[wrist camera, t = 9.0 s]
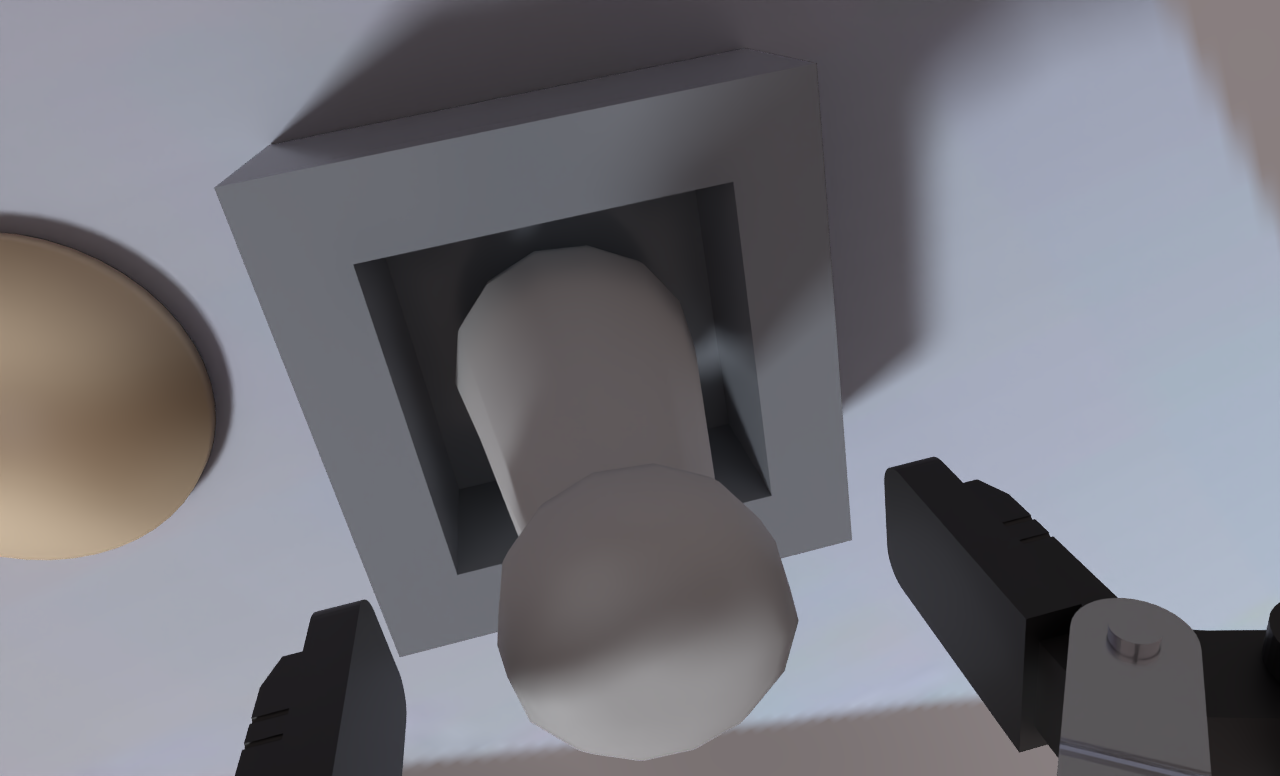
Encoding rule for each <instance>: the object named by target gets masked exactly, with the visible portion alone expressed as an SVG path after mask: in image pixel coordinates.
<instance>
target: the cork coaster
mask: <svg viewBox="0 0 1280 776" xmlns="http://www.w3.org/2000/svg"><path fill="white" fill-rule="evenodd" d="M215 426H216V415H215V401H214V396H213V391H212V386H211V382H210V379H209V376H208V374H207V371H206V368H205V365H204V363H203V361H202V359H201V357H200V355H199V353H198V351H197V349H196V347H195V345H194V344H193V342H192V341H191V339H190V338H189V336H188V335H187V333H186V332H185V331H184V329H183V328H182V326H181V325H180V324H179V322H178V321H177V320H176V319H175V318H174V317H173V316H172V315H171V314H170V312H169V311H168V310H167V309H166V308H165V307H164V306H163V305H162V304H161V303H160V302H159V301H158V300H157V299H155V298H154V297H153V296H152V295H151V294H150V293H149V292H148V291H146V290H145V289H144V288H143V287H141V286H140V285H138V284H137V283H136V282H134V281H133V280H131V279H130V278H129V277H127V276H126V275H124V274H123V273H121V272H120V271H118V270H116V269H114V268H112V267H111V266H109V265H107V264H105V263H104V262H102V261H100V260H98V259H96V258H94V257H91V256H89V255H87V254H84V253H82V252H80V251H77V250H75V249H73V248H70V247H66V246H63V245H60V244H57V243H54V242H51V241H47V240H44V239H39V238H34V237H29V236H24V235H19V234H10V233H0V557H8V558H17V559H26V560H57V559H70V558H78V557H83V556H89V555H94V554H98V553H102V552H105V551H108V550H112V549H115V548H118V547H121V546H123V545H125V544H127V543H130V542H132V541H134V540H137V539H139V538H140V537H142V536H144V535H145V534H147V533H149V532H150V531H152V530H154V529H155V528H157V527H158V526H159V525H160V524H162V523H163V522H164V521H166V520H167V519H168V518H169V517H171V516H172V514H173V513H174V512H175V511H176V510H177V509H178V508H179V507H180V506H181V505H182V504H183V503H184V502H185V500H186V499H187V497H188V496H189V494H190V493H191V491H192V490H193V488H194V487H195V485H196V483H197V482H198V480H199V478H200V476H201V474H202V472H203V470H204V468H205V466H206V463H207V461H208V459H209V456H210V452H211V449H212V445H213V442H214V434H215Z"/></svg>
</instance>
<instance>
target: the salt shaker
mask: <svg viewBox="0 0 1280 776" xmlns="http://www.w3.org/2000/svg"><path fill="white" fill-rule="evenodd" d="M455 384H456V386H457V388H458V390H459V393H460V395H461V397H462V399H463V402H464V404H465V406H466V408H467V411H468V413H469V415H470V417H471V420H472V422H473V424H474V426H475V429H476V431H477V433H478V435H479V437H480V440H481V442H482V445H483V447H484V450H485V453H486V455H487V458H488V460H489V463H490V465H491V468H492V470H493V473H494V475H495V478H496V481H497V483H498V486H499V488H500V491H501V493H502V496H503V498H504V501H505V504H506V506H507V509H508V511H509V514H510V516H511V519H512V521H513V524H514V526H515V529H516V532H517V534H518V538H517V539H516V541H515V542H514V544H513V545H512V547H511V548H510V549H509V551H508V553H507V555H506V557H505V558H504V560H503V562H502V574H501V586H500V599H499V612H498V644H497V645H498V648H499V652H500V655H501V658H502V661H503V664H504V668H505V671H506V674H507V677H508V679H509V681H510V683H511V685H512V687H513V689H514V691H515V693H516V695H517V697H518V698H519V700H520V702H521V704H522V706H523V708H524V710H525V712H526V714H527V716H528V718H529V720H530V722H531V723H533V724H535V725H537V726H538V727H540V728H542V729H543V730H545V731H547V732H548V733H550V734H552V735H553V736H555V737H557V738H558V739H560V740H562V741H563V742H565V743H567V744H568V745H570V746H572V747H573V748H575V749H577V750H580V751H583V752H587V753H591V754H597V755H603V756H610V757H617V758H624V759H631V760H638V761H644V760H649V759H653V758H658V757H663V756H667V755H672V754H676V753H681V752H686V751H690V750H694V749H696V748H698V747H700V746H701V745H703V744H705V743H706V742H708V741H710V740H712V739H714V738H716V737H717V736H719V735H721V734H723V733H724V732H726V731H728V730H730V729H731V728H733V727H735V726H737V725H738V724H740V723H741V722H742V721H743V720H744V719H745V718H746V717H747V716H748V715H749V714H750V712H751V711H752V710H753V709H754V708H755V706H756V705H757V704H758V703H759V701H760V700H761V699H762V698H763V697H764V695H765V694H766V693H767V692H768V690H769V689H770V688H771V687H772V686H773V684H774V683H775V682H776V681H777V679H778V678H779V677H780V676H781V675H782V673H783V672H784V671H785V667H786V663H787V660H788V656H789V653H790V649H791V646H792V642H793V638H794V635H795V631H796V628H797V624H798V617H797V613H796V609H795V605H794V601H793V598H792V594H791V590H790V587H789V584H788V580H787V577H786V574H785V571H784V567H783V564H782V561H781V558H780V555H779V551H778V548H777V545H776V542H775V540H774V539H773V537H772V536H771V534H770V533H769V531H768V530H767V529H766V527H765V526H764V524H763V523H762V522H761V520H760V519H759V518H758V517H757V516H756V515H755V514H754V513H753V512H752V511H751V510H750V509H749V508H747V507H746V506H745V505H744V504H743V503H742V502H741V501H740V500H739V499H738V498H737V497H735V496H734V495H733V494H732V493H731V492H730V491H729V490H728V489H727V488H726V487H724V486H723V485H722V484H721V483H720V482H719V481H717V480H715V476H714V469H713V463H712V456H711V450H710V443H709V436H708V430H707V423H706V417H705V410H704V403H703V397H702V390H701V384H700V377H699V370H698V364H697V357H696V351H695V346H694V343H693V340H692V337H691V334H690V331H689V328H688V325H687V322H686V319H685V316H684V313H683V310H682V307H681V304H680V301H679V300H678V299H677V298H676V297H675V296H674V295H673V294H672V293H671V292H670V291H669V290H668V289H667V288H666V287H665V286H664V285H663V283H662V282H661V281H660V280H659V279H658V278H657V277H656V276H655V275H654V274H653V273H652V272H651V271H650V270H649V269H648V268H647V267H646V266H645V265H644V264H643V263H641V262H639V261H637V260H634V259H631V258H627V257H624V256H621V255H617V254H614V253H611V252H608V251H604V250H601V249H598V248H594V247H591V246H588V245H585V246H576V247H567V248H558V249H549V250H540V251H533V252H532V253H530V254H529V255H527V256H526V257H524V258H523V259H521V260H520V261H518V262H517V263H515V264H513V265H512V266H510V267H509V268H507V269H506V270H504V271H503V272H501V273H500V274H498V275H497V276H495V277H494V278H492V279H490V280H489V281H488V282H487V284H486V285H485V287H484V289H483V290H482V292H481V293H480V295H479V297H478V298H477V300H476V301H475V303H474V305H473V306H472V308H471V310H470V311H469V313H468V314H467V316H466V318H465V319H464V321H463V322H462V324H461V326H460V328H459V330H458V340H457V358H456V376H455Z"/></svg>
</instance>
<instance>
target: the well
mask: <svg viewBox="0 0 1280 776" xmlns="http://www.w3.org/2000/svg"><path fill="white" fill-rule="evenodd" d="M215 191H216V193H217V196H218V198H219V201H220V203H221V206H222V209H223V211H224V214H225V216H226V219H227V221H228V224H229V226H230V229H231V231H232V234H233V236H234V239H235V241H236V244H237V247H238V249H239V252H240V254H241V257H242V259H243V262H244V264H245V267H246V269H247V272H248V274H249V277H250V279H251V282H252V284H253V287H254V290H255V292H256V295H257V297H258V300H259V302H260V305H261V307H262V310H263V312H264V315H265V317H266V320H267V322H268V325H269V327H270V330H271V333H272V335H273V338H274V340H275V343H276V345H277V348H278V350H279V353H280V355H281V358H282V360H283V363H284V365H285V368H286V370H287V373H288V376H289V378H290V381H291V383H292V386H293V388H294V391H295V393H296V396H297V398H298V401H299V403H300V406H301V408H302V411H303V414H304V416H305V419H306V421H307V424H308V426H309V429H310V431H311V434H312V436H313V439H314V441H315V444H316V446H317V449H318V451H319V454H320V457H321V459H322V462H323V464H324V467H325V469H326V472H327V474H328V477H329V479H330V482H331V484H332V487H333V489H334V492H335V494H336V497H337V500H338V502H339V505H340V507H341V510H342V512H343V515H344V517H345V520H346V522H347V525H348V527H349V530H350V532H351V535H352V537H353V540H354V543H355V545H356V548H357V550H358V553H359V555H360V558H361V560H362V563H363V565H364V568H365V570H366V573H367V575H368V578H369V581H370V583H371V586H372V588H373V591H374V593H375V596H376V598H377V601H378V603H379V606H380V608H381V611H382V613H383V616H384V618H385V621H386V624H387V626H388V629H389V631H390V634H391V636H392V639H393V641H394V644H395V646H396V649H397V651H398V654H399V656H400V657H402V656H406V655H410V654H414V653H418V652H422V651H426V650H429V649H433V648H437V647H441V646H445V645H449V644H453V643H456V642H460V641H464V640H468V639H472V638H476V637H480V636H483V635H487V634H491V633H495V632H498V612H499V599H500V586H501V574H502V562H503V560H504V558H505V557H506V555H507V553H508V551H509V549H510V548H511V547H512V545H513V544H514V542H515V541H516V539H517V538H518V534H517V532H516V529H515V526H514V524H513V521H512V519H511V516H510V514H509V511H508V509H507V506H506V504H505V501H504V498H503V496H502V493H501V491H500V488H499V486H498V483H497V481H496V478H495V475H494V473H493V470H492V468H491V465H490V463H489V460H488V458H487V455H486V453H485V450H484V447H483V445H482V442H481V440H480V437H479V435H478V433H477V431H476V429H475V426H474V424H473V422H472V420H471V417H470V415H469V413H468V411H467V408H466V406H465V404H464V402H463V399H462V397H461V395H460V393H459V390H458V388H457V386H456V384H455V376H456V358H457V340H458V330H459V328H460V326H461V324H462V322H463V321H464V319H465V318H466V316H467V314H468V313H469V311H470V310H471V308H472V306H473V305H474V303H475V301H476V300H477V298H478V297H479V295H480V293H481V292H482V290H483V289H484V287H485V285H486V284H487V282H488V281H489V280H490V279H492V278H494V277H495V276H497V275H498V274H500V273H501V272H503V271H504V270H506V269H507V268H509V267H510V266H512V265H513V264H515V263H517V262H518V261H520V260H521V259H523V258H524V257H526V256H527V255H529V254H530V253H532V252H533V251H540V250H549V249H558V248H567V247H576V246H585V245H588V246H591V247H594V248H598V249H601V250H604V251H608V252H611V253H614V254H617V255H621V256H624V257H627V258H631V259H634V260H637V261H639V262H641V263H643V264H644V265H645V266H646V267H647V268H648V269H649V270H650V271H651V272H652V273H653V274H654V275H655V276H656V277H657V278H658V279H659V280H660V281H661V282H662V283H663V285H664V286H665V287H666V288H667V289H668V290H669V291H670V292H671V293H672V294H673V295H674V296H675V297H676V298H677V299H678V300H679V301H680V304H681V307H682V310H683V313H684V316H685V319H686V322H687V325H688V328H689V331H690V334H691V337H692V340H693V343H694V346H695V351H696V357H697V364H698V370H699V377H700V384H701V390H702V397H703V403H704V410H705V417H706V423H707V430H708V436H709V443H710V450H711V456H712V463H713V469H714V476H715V480H717V481H719V482H720V483H721V484H722V485H723V486H724V487H726V488H727V489H728V490H729V491H730V492H731V493H732V494H733V495H734V496H735V497H737V498H738V499H739V500H740V501H741V502H742V503H743V504H744V505H745V506H746V507H747V508H749V509H750V510H751V511H752V512H753V513H754V514H755V515H756V516H757V517H758V518H759V519H760V520H761V522H762V523H763V524H764V526H765V527H766V529H767V530H768V531H769V533H770V534H771V536H772V537H773V539H774V540H775V542H776V545H777V548H778V551H779V555H780V558H784V557H788V556H792V555H796V554H800V553H804V552H808V551H811V550H815V549H819V548H823V547H827V546H831V545H835V544H839V543H842V542H846V541H850V540H852V535H851V521H850V508H849V494H848V481H847V467H846V454H845V440H844V427H843V413H842V400H841V386H840V373H839V359H838V346H837V332H836V319H835V305H834V292H833V279H832V265H831V252H830V238H829V225H828V211H827V198H826V184H825V171H824V157H823V144H822V130H821V117H820V103H819V90H818V76H817V63H814V62H809V61H804V60H800V59H795V58H790V57H785V56H780V55H776V54H771V53H766V52H761V51H757V50H752V49H747V48H743V49H738V50H733V51H728V52H723V53H718V54H713V55H709V56H704V57H699V58H694V59H689V60H684V61H679V62H674V63H669V64H664V65H659V66H655V67H650V68H645V69H640V70H635V71H630V72H625V73H620V74H615V75H610V76H605V77H601V78H596V79H591V80H586V81H581V82H576V83H571V84H566V85H561V86H556V87H551V88H547V89H542V90H537V91H532V92H527V93H522V94H517V95H512V96H507V97H502V98H497V99H493V100H488V101H483V102H478V103H473V104H468V105H463V106H458V107H453V108H448V109H444V110H439V111H434V112H429V113H424V114H419V115H414V116H409V117H404V118H399V119H394V120H390V121H385V122H380V123H375V124H370V125H365V126H360V127H355V128H350V129H345V130H340V131H336V132H331V133H326V134H321V135H316V136H311V137H306V138H301V139H296V140H291V141H286V142H282V143H277V144H272V145H268V146H267V147H266V148H265V149H263V150H262V151H261V152H259V153H258V154H257V155H256V156H254V157H253V158H252V159H250V160H249V161H248V162H247V163H245V164H244V165H243V166H241V167H240V168H239V169H238V170H236V171H235V172H234V173H232V174H231V175H230V176H229V177H227V178H226V179H225V180H224V181H222V182H221V183H220V184H218V185H217V186H216V187H215Z"/></svg>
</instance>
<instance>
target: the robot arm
mask: <svg viewBox="0 0 1280 776" xmlns="http://www.w3.org/2000/svg"><path fill="white" fill-rule="evenodd" d="M884 485H885V507H886V529H887V548H888V555H889V559H890V563H891V566H892V569H893V572H894V574H895V577H896V579H897V581H898V583H899V584H900V586H901V588H902V589H903V590H904V592H905V593H906V595H907V596H908V597H909V599H910V600H911V602H912V603H913V604H914V606H915V607H916V609H917V610H918V611H919V613H920V614H921V616H922V617H923V618H924V620H925V621H926V623H927V624H928V625H929V627H930V628H931V630H932V631H933V632H934V634H935V635H936V637H937V638H938V639H939V641H940V642H941V644H942V645H943V646H944V648H945V649H946V651H947V652H948V653H949V655H950V656H951V658H952V659H953V660H954V662H955V663H956V665H957V666H958V667H959V669H960V670H961V672H962V673H963V674H964V676H965V677H966V679H967V680H968V681H969V683H970V684H971V686H972V687H973V688H974V690H975V691H976V693H977V694H978V695H979V697H980V698H981V700H982V701H983V702H984V704H985V705H986V707H987V708H988V709H989V711H990V712H991V714H992V715H993V716H994V718H995V719H996V721H997V722H998V723H999V725H1000V726H1001V728H1002V729H1003V730H1004V732H1005V733H1006V734H1007V736H1008V737H1009V739H1010V740H1011V741H1012V742H1013V744H1014V746H1015V747H1016V748H1017V750H1018V751H1019V752H1023V751H1026V750H1030V749H1033V748H1037V747H1040V746H1043V745H1047V744H1048V745H1049V746H1050V748H1051V749H1052V750H1053V752H1054V753H1055V754H1056V756H1057V757H1058V770H1057V776H1280V603H1278V604H1277V605H1276V606H1275V607H1274V608H1273V610H1272V611H1271V613H1270V617H1269V621H1268V626H1267V630H1222V631H1205V630H1192V629H1191V627H1190V626H1189V625H1187V624H1186V623H1185V622H1184V621H1183V620H1182V619H1180V618H1179V617H1178V616H1176V615H1175V614H1173V613H1171V612H1169V611H1168V610H1166V609H1164V608H1161V607H1159V606H1157V605H1154V604H1151V603H1148V602H1144V601H1139V600H1135V599H1127V598H1117V597H1116V596H1115V595H1114V594H1113V593H1112V592H1111V591H1110V590H1109V589H1108V588H1107V587H1106V586H1105V585H1104V584H1103V583H1102V582H1101V581H1100V580H1098V579H1097V578H1096V577H1095V576H1094V575H1093V574H1092V573H1091V572H1090V571H1089V570H1088V569H1087V568H1086V567H1085V566H1084V565H1083V564H1082V563H1081V562H1080V561H1079V560H1077V559H1076V558H1075V557H1074V556H1073V555H1072V554H1071V553H1070V552H1069V551H1068V550H1067V549H1066V548H1065V547H1064V546H1063V545H1062V544H1061V543H1060V542H1059V541H1058V540H1056V539H1055V538H1054V537H1050V535H1049V532H1048V531H1047V530H1046V529H1045V528H1044V527H1043V526H1042V525H1041V524H1040V523H1039V522H1038V521H1037V520H1035V519H1034V520H1032V518H1031V515H1030V514H1029V513H1028V512H1027V511H1026V510H1025V509H1024V508H1023V507H1022V506H1021V505H1020V504H1019V503H1018V502H1017V501H1015V500H1014V499H1013V498H1012V497H1011V496H1010V495H1009V494H1007V493H1005V492H1003V491H1001V490H999V489H997V488H995V487H992V486H990V485H988V484H986V483H984V482H982V481H980V480H973V481H969V482H965V483H963V482H962V481H961V480H960V479H959V478H958V477H957V476H956V475H955V474H954V473H953V472H952V471H951V470H950V469H949V468H948V467H947V466H946V465H945V464H944V463H943V462H942V461H941V460H940V459H938V458H937V457H930V458H926V459H922V460H918V461H914V462H911V463H907V464H903V465H899V466H895V467H891V468H888V469H887V470H886V472H885V478H884ZM405 729H406V700H405V693H404V688H403V684H402V680H401V677H400V674H399V671H398V669H397V666H396V664H395V661H394V659H393V656H392V654H391V652H390V649H389V647H388V644H387V642H386V639H385V637H384V634H383V632H382V630H381V627H380V625H379V622H378V620H377V617H376V615H375V612H374V610H373V608H372V606H371V604H370V603H369V602H368V601H367V600H361V601H357V602H353V603H349V604H345V605H341V606H337V607H333V608H329V609H325V610H321V611H317V612H314V613H313V615H312V616H311V619H310V623H309V627H308V632H307V636H306V640H305V644H304V648H303V651H302V652H299V653H295V654H291V655H287V656H283V657H282V658H281V659H280V661H279V662H278V663H277V665H276V666H275V668H274V669H273V670H272V672H271V673H270V674H269V676H268V677H267V679H266V680H265V681H264V683H263V684H262V685H261V687H260V689H259V693H258V696H257V700H256V703H255V707H254V710H253V714H252V724H250V725H249V728H248V732H247V735H246V739H245V742H244V745H245V750H242V753H241V756H240V760H239V763H238V767H237V770H236V774H235V776H402V768H403V755H404V742H405Z"/></svg>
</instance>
